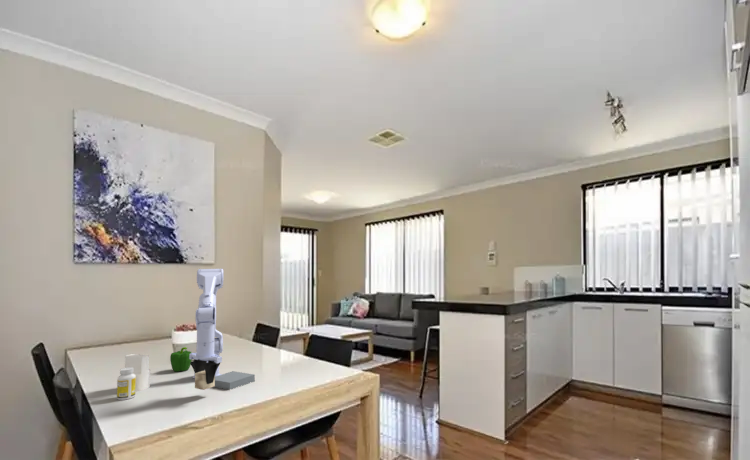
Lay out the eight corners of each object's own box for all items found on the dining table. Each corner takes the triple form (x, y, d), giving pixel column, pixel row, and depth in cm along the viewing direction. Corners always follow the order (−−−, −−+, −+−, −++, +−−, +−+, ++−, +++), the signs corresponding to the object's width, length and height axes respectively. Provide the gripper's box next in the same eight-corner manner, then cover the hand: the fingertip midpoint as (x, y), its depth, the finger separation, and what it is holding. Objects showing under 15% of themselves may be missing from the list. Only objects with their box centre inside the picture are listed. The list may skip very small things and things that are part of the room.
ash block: (194, 388, 137) (195, 373, 138) (206, 384, 141) (206, 370, 142) (203, 389, 135) (203, 374, 136) (214, 386, 139) (214, 371, 140)
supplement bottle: (131, 394, 142) (132, 365, 143) (137, 397, 139) (138, 368, 139) (114, 398, 138) (115, 369, 139) (120, 401, 134) (121, 371, 135)
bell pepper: (166, 371, 173) (167, 347, 174) (186, 367, 180) (186, 344, 181) (175, 374, 168) (175, 349, 169) (194, 370, 174) (195, 346, 175)
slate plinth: (207, 385, 151) (207, 378, 151) (232, 377, 161) (233, 371, 161) (229, 389, 145) (229, 382, 145) (254, 381, 155) (254, 374, 155)
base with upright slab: (115, 390, 146) (116, 357, 147) (137, 383, 155) (138, 352, 156) (133, 393, 143) (134, 358, 144) (155, 385, 152) (156, 353, 153)
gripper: (181, 342, 140) (181, 382, 138) (209, 346, 133) (209, 388, 131) (199, 339, 146) (198, 377, 145) (227, 342, 139) (226, 382, 138)
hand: (204, 382), depth 138 cm, fingers closed on ash block, 4 cm apart
